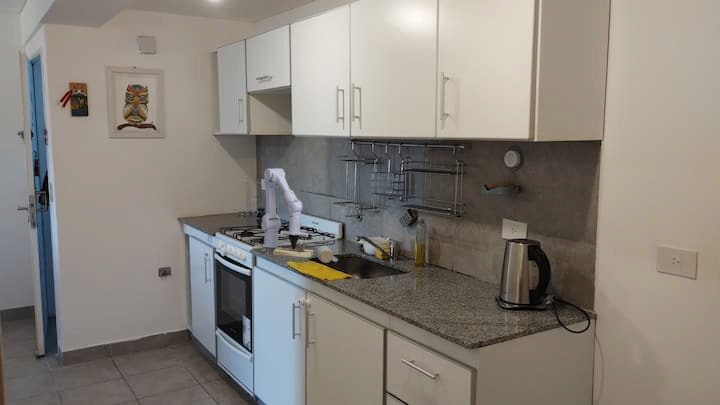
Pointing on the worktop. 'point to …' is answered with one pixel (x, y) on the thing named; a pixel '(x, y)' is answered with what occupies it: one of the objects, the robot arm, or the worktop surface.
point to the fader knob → (301, 246)
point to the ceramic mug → (325, 254)
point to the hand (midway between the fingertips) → (293, 249)
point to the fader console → (292, 252)
